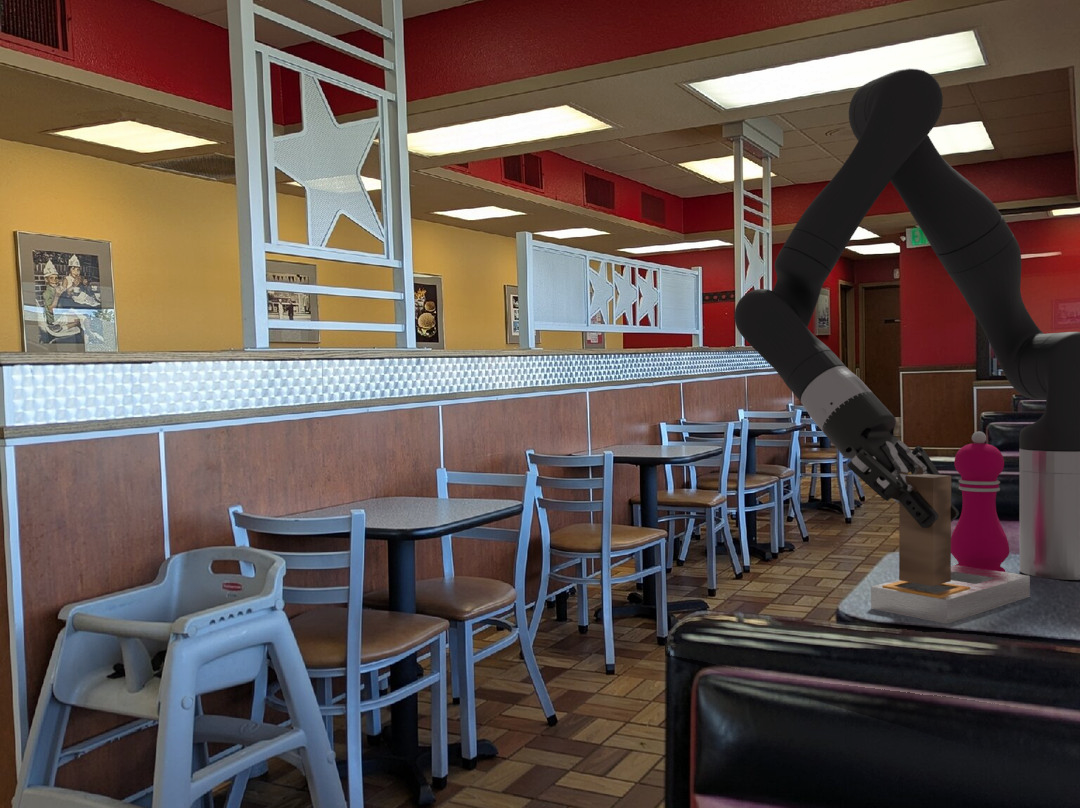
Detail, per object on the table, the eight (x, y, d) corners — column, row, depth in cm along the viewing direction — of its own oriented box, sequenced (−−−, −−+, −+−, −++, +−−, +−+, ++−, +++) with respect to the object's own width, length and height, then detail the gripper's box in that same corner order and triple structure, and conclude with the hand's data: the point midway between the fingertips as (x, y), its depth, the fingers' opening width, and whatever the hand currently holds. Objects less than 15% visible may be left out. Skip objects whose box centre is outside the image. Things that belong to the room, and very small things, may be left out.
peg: (917, 575, 108) (917, 473, 108) (950, 581, 105) (951, 475, 104) (899, 580, 105) (899, 475, 105) (932, 585, 102) (933, 477, 102)
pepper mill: (958, 573, 128) (958, 429, 128) (1015, 579, 124) (1015, 431, 124) (942, 581, 123) (942, 431, 123) (1001, 588, 118) (1001, 433, 118)
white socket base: (956, 588, 119) (956, 563, 118) (1029, 600, 112) (1029, 574, 112) (871, 612, 106) (870, 584, 106) (946, 627, 99) (947, 598, 99)
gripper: (832, 389, 106) (933, 505, 97) (898, 390, 115) (996, 495, 106) (793, 434, 110) (886, 548, 101) (859, 431, 119) (950, 536, 110)
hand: (942, 520), depth 103 cm, fingers closed on peg, 4 cm apart
